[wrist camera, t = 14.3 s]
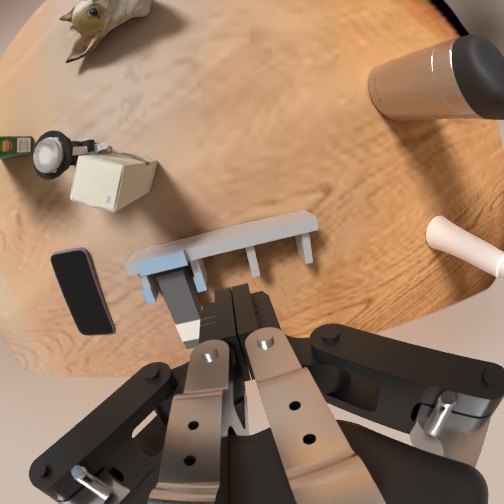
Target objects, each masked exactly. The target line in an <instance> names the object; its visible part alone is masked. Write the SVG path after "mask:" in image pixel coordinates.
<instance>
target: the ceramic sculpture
mask: <svg viewBox="0 0 504 504" xmlns="http://www.w3.org/2000/svg"><path fill="white" fill-rule="evenodd" d="M151 3H152V0H80V1H79V2H78V3H77V5H76V6H75V7H74V8H73V9H72V10H71V11H70V12H69V13H67V14H66V15H64V16H62V17H61V18H60V20H63V21H69V22H72V23H73V26H74V27H75V29H76V30H77V31H78V32H79V33H80V34H81V36H80V37H79V38H78V39H77V40H76V42H75V43H74V45H73V49H72V51H71V54H70V56H69V58H68V59H67V61H66V62H65V63H69V62H72V61H75V60H78V59H80V58H82V57H84V56H86V55H88V54H89V53H91V52H92V51H93V50H94V49H95V48H96V47H97V46H98V45H99V44H100V43H101V41H102V40H103V38H104V37H105V36H106V35H107V33H108V32H109V31H110V30H112V29H114V28H116V27H117V26H118V25H120V24H122V23H124V22H125V21H127V20H129V19H130V18H133V17H143V16H147V15H148V14H149V12H150V7H151Z"/></svg>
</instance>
